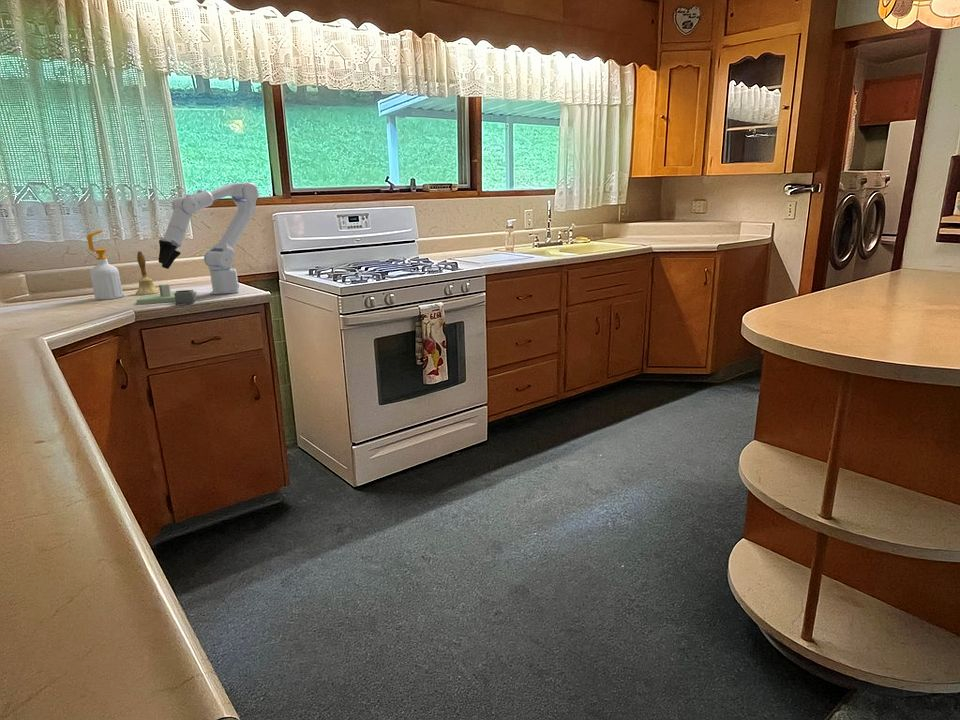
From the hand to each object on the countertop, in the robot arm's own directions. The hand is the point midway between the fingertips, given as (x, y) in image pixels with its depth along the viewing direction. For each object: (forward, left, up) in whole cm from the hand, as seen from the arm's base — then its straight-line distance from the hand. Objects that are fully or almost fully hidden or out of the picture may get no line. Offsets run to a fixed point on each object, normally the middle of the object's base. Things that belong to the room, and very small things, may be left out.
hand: (163, 265), depth 212 cm
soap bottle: (+23, -21, -13) cm, 34 cm away
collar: (-6, +4, -13) cm, 15 cm away
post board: (+1, -6, -13) cm, 14 cm away
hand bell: (+11, -26, -13) cm, 31 cm away
